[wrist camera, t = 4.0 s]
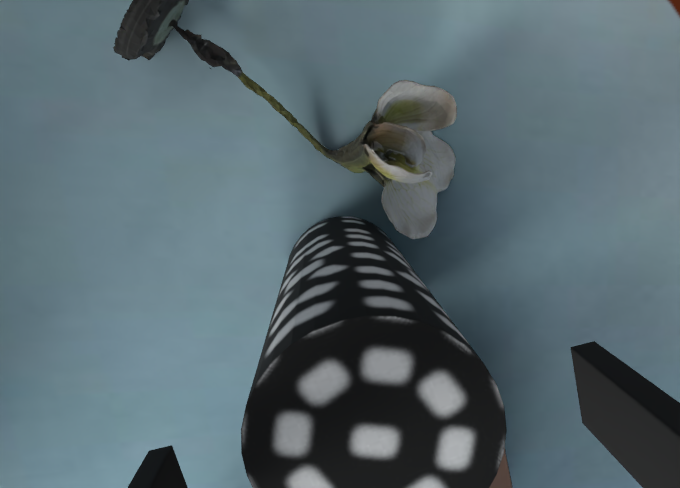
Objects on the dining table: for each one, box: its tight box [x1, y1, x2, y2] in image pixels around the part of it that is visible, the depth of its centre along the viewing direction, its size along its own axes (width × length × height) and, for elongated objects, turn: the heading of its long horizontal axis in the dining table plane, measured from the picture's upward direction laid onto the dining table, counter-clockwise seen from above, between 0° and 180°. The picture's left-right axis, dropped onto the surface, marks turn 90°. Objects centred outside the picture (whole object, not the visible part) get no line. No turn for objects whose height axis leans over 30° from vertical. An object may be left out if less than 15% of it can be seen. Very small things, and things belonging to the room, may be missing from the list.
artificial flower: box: [113, 0, 457, 239], centre depth 28 cm, size 9×22×10 cm, turn 55°
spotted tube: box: [241, 217, 506, 488], centre depth 24 cm, size 8×8×20 cm
